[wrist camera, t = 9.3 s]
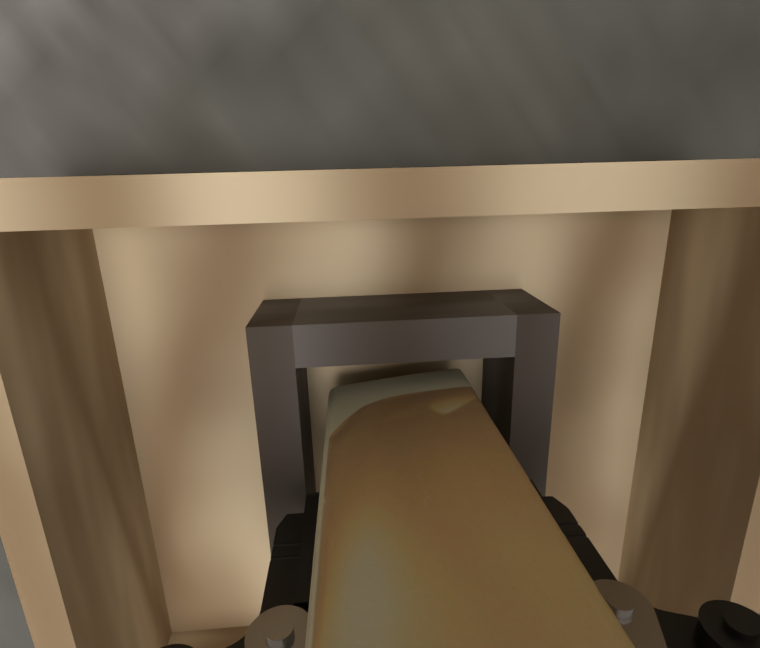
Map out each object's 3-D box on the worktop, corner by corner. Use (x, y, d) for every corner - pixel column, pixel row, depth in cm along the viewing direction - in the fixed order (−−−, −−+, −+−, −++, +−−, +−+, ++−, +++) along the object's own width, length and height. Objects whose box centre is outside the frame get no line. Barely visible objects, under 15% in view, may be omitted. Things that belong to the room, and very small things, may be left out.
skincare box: (479, 525, 17) (787, 1312, 5) (356, 546, 17) (385, 1401, 5) (462, 354, 15) (887, 990, 3) (323, 377, 15) (245, 1122, 3)
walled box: (687, 163, 16) (878, 154, 10) (622, 591, 21) (725, 743, 16) (65, 180, 15) (-110, 181, 9) (159, 631, 20) (86, 812, 14)
